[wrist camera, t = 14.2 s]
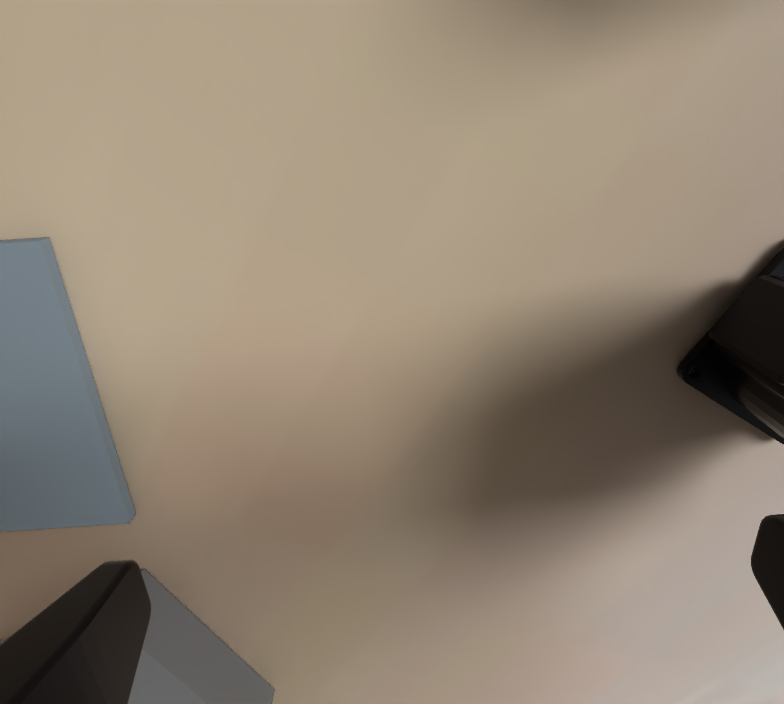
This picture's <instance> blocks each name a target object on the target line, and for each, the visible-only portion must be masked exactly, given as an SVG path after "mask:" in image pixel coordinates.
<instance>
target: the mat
mask: <svg viewBox="0 0 784 704" xmlns="http://www.w3.org/2000/svg"><path fill="white" fill-rule="evenodd" d="M135 514H136V512H135V509H134V506H133V503H132V500H131V496H130V493H129V490H128V487H127V484H126V481H125V477H124V474H123V471H122V468H121V465H120V461H119V458H118V455H117V452H116V449H115V445H114V442H113V439H112V436H111V433H110V429H109V426H108V423H107V420H106V417H105V413H104V410H103V407H102V404H101V401H100V398H99V394H98V391H97V388H96V385H95V382H94V378H93V375H92V372H91V369H90V366H89V362H88V359H87V356H86V353H85V350H84V346H83V343H82V340H81V337H80V334H79V330H78V327H77V324H76V321H75V318H74V314H73V311H72V308H71V305H70V302H69V299H68V295H67V292H66V289H65V286H64V283H63V279H62V276H61V273H60V270H59V267H58V263H57V260H56V257H55V254H54V251H53V247H52V244H51V241H50V238H49V237H45V238H29V239H13V240H0V532H9V531H24V530H39V529H54V528H68V527H83V526H98V525H113V524H127V523H131V521H132V519H133V518H134V516H135Z"/></svg>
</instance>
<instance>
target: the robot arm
mask: <svg viewBox="0 0 784 704" xmlns="http://www.w3.org/2000/svg"><path fill="white" fill-rule="evenodd" d="M694 367H696V370H695V371H694V372H693V373H692V374H689V371H690V370H691V369H692V368H694ZM677 374H678V376H679V377H680V378H681V379H682V380H684V381H685V382H686V383H687V384H689V385H691V386H692V387H694V388H695V389H697V390H698V391H700V392H702V393H703V394H705V395H706V396H708V397H709V398H711V399H713V400H714V401H716V402H717V403H719V404H720V405H722V406H724V407H725V408H727V409H728V410H730V411H731V412H733V413H735V414H736V415H738V416H739V417H741V418H742V419H744V420H746V421H747V422H749V423H750V424H752V425H753V426H755V427H757V428H758V429H760V430H761V431H763V432H765V433H766V434H768V435H769V436H771V437H772V438H774V439H776V440H777V441H779V442H780V443H782V444H784V248H783V249H782V250H781V251H780V252H779V253H778V254H777V256H776V257H775V258H774V259H773V260H772V261H771V262H770V263H769V264H768V266H767V267H766V268H765V269H764V270H763V271H762V272H761V273H760V274H759V276H758V277H757V278H756V279H755V280H754V281H753V282H752V283H751V284H750V286H749V287H748V288H747V289H746V290H745V291H744V292H743V293H742V295H741V296H740V297H739V298H738V299H737V300H736V301H735V302H734V303H733V305H732V306H731V307H730V308H729V309H728V310H727V311H726V312H725V313H724V315H723V316H722V317H721V318H720V319H719V320H718V321H717V322H716V323H715V325H714V326H713V327H712V328H711V329H710V330H709V331H708V332H707V334H706V335H705V336H704V337H703V338H702V339H701V340H700V341H699V342H698V344H697V345H696V346H695V347H694V348H693V349H692V350H691V351H690V352H689V354H688V355H687V356H686V357H685V358H684V359H683V360H682V361H681V362H680V364H679V366H678V368H677ZM751 566H752V571H753V573H754V576H755V578H756V580H757V582H758V584H759V585H760V587H761V589H762V591H763V593H764V595H765V596H766V598H767V600H768V602H769V604H770V605H771V607H772V609H773V611H774V613H775V615H776V616H777V618H778V620H779V622H780V624H781V626H782V627H783V629H784V514H779V515H769V516H766V517H765V518H764V519H763V520H762V521H761V523H760V527H759V530H758V534H757V537H756V541H755V545H754V548H753V552H752V555H751ZM150 616H151V601H150V597H149V594H148V591H147V588H146V585H145V582H144V579H143V576H142V573H141V570H140V567H139V565H138V564H137V563H136V562H135V561H133V560H121V561H109V562H105V563H103V564H102V565H100V566H99V567H98V568H96V569H95V570H94V571H92V572H91V573H90V574H89V575H87V576H86V577H85V578H84V579H82V580H81V581H80V582H79V583H77V584H76V585H75V586H74V587H72V588H71V589H70V590H69V591H67V592H66V593H65V594H64V595H62V596H61V597H60V598H59V599H57V600H56V601H55V602H54V603H52V604H51V605H50V606H48V607H47V608H46V609H45V610H43V611H42V612H41V613H40V614H38V615H37V616H36V617H35V618H33V619H32V620H31V621H30V622H28V623H27V624H26V625H25V626H23V627H22V628H21V629H20V630H18V631H17V632H16V633H15V634H13V635H12V636H11V637H10V638H8V639H7V640H6V641H4V642H3V643H2V644H1V645H0V704H128V701H129V697H130V694H131V690H132V686H133V682H134V678H135V674H136V671H137V667H138V663H139V659H140V655H141V652H142V648H143V644H144V640H145V636H146V633H147V629H148V625H149V621H150Z"/></svg>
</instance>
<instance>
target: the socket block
mask: <svg viewBox="0 0 784 704" xmlns="http://www.w3.org/2000/svg"><path fill="white" fill-rule="evenodd" d="M141 573H142V576H143V579H144V582H145V585H146V588H147V591H148V594H149V597H150V601H151V616H150V621H149V625H148V629H147V633H146V636H145V640H144V644H143V648H142V652H141V655H140V659H139V663H138V667H137V671H136V674H135V678H134V682H133V686H132V690H131V694H130V697H129V701H128V704H272V700H273V694H274V688H273V687H272V686H270V685H269V684H268V683H267V682H266V681H265V680H264V679H263V678H262V677H261V676H260V675H259V674H257V673H256V672H255V671H254V670H253V669H252V668H251V667H250V666H249V665H248V664H247V663H246V662H244V661H243V660H242V659H241V658H240V657H239V656H238V655H237V654H236V653H235V652H234V651H233V650H231V649H230V648H229V647H228V646H227V645H226V644H225V643H224V642H223V641H222V640H221V639H220V638H218V637H217V636H216V635H215V634H214V633H213V632H212V631H211V630H210V629H209V628H208V627H207V626H205V625H204V624H203V623H202V622H201V621H200V620H199V619H198V618H197V617H196V616H195V615H194V614H192V613H191V612H190V611H189V610H188V609H187V608H186V607H185V606H184V605H183V604H182V603H181V602H179V601H178V600H177V599H176V598H175V597H174V596H173V595H172V594H171V593H170V592H169V591H168V590H166V589H165V588H164V587H163V586H162V585H161V584H160V583H159V582H158V581H157V580H156V579H155V578H153V577H152V576H151V575H150V574H149V573H148V572H147V571H146V570H145V569H142V570H141Z"/></svg>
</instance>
